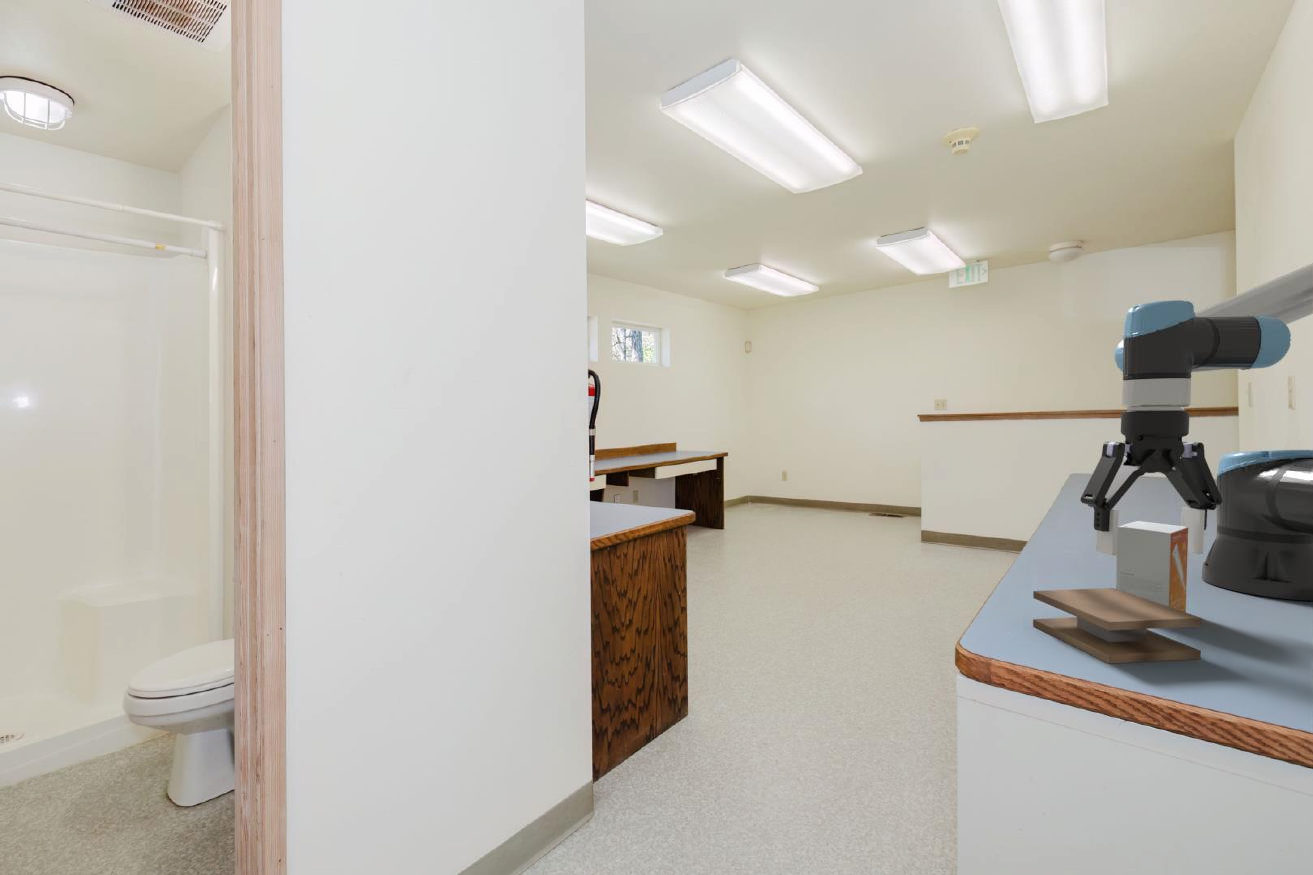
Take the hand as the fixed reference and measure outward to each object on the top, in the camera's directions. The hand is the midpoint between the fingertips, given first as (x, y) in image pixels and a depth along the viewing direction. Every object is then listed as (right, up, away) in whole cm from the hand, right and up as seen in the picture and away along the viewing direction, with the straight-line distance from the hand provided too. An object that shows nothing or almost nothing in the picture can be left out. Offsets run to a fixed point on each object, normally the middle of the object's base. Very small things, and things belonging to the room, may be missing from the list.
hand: (1149, 552), depth 83 cm
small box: (+1, -9, 0) cm, 9 cm away
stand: (-14, -10, -10) cm, 19 cm away
